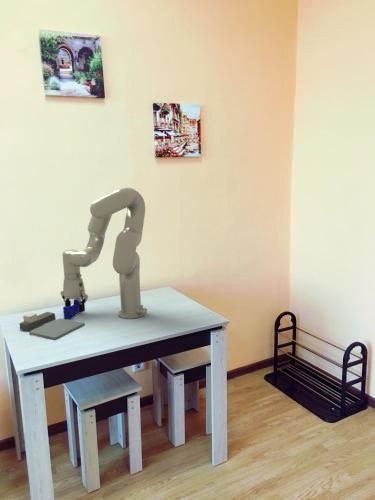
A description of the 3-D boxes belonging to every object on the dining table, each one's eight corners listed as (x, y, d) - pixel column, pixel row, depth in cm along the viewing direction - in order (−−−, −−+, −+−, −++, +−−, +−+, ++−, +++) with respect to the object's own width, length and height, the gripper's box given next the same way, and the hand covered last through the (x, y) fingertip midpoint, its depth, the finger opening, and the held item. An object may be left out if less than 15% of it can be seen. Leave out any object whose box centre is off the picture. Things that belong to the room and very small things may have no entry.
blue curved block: (73, 310, 207) (72, 299, 206) (81, 311, 207) (80, 299, 205) (61, 319, 196) (60, 307, 195) (70, 319, 195) (68, 307, 194)
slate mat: (84, 325, 187) (84, 323, 187) (55, 340, 172) (54, 337, 171) (60, 320, 194) (59, 318, 194) (29, 334, 179) (29, 332, 178)
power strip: (55, 319, 195) (54, 307, 194) (28, 331, 182) (26, 318, 180) (47, 317, 198) (46, 305, 197) (20, 329, 184) (18, 316, 183)
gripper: (91, 275, 198) (94, 310, 201) (64, 272, 206) (67, 305, 209) (80, 279, 191) (83, 315, 195) (53, 275, 200) (56, 310, 203)
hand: (75, 310), depth 202 cm, fingers open, 8 cm apart
